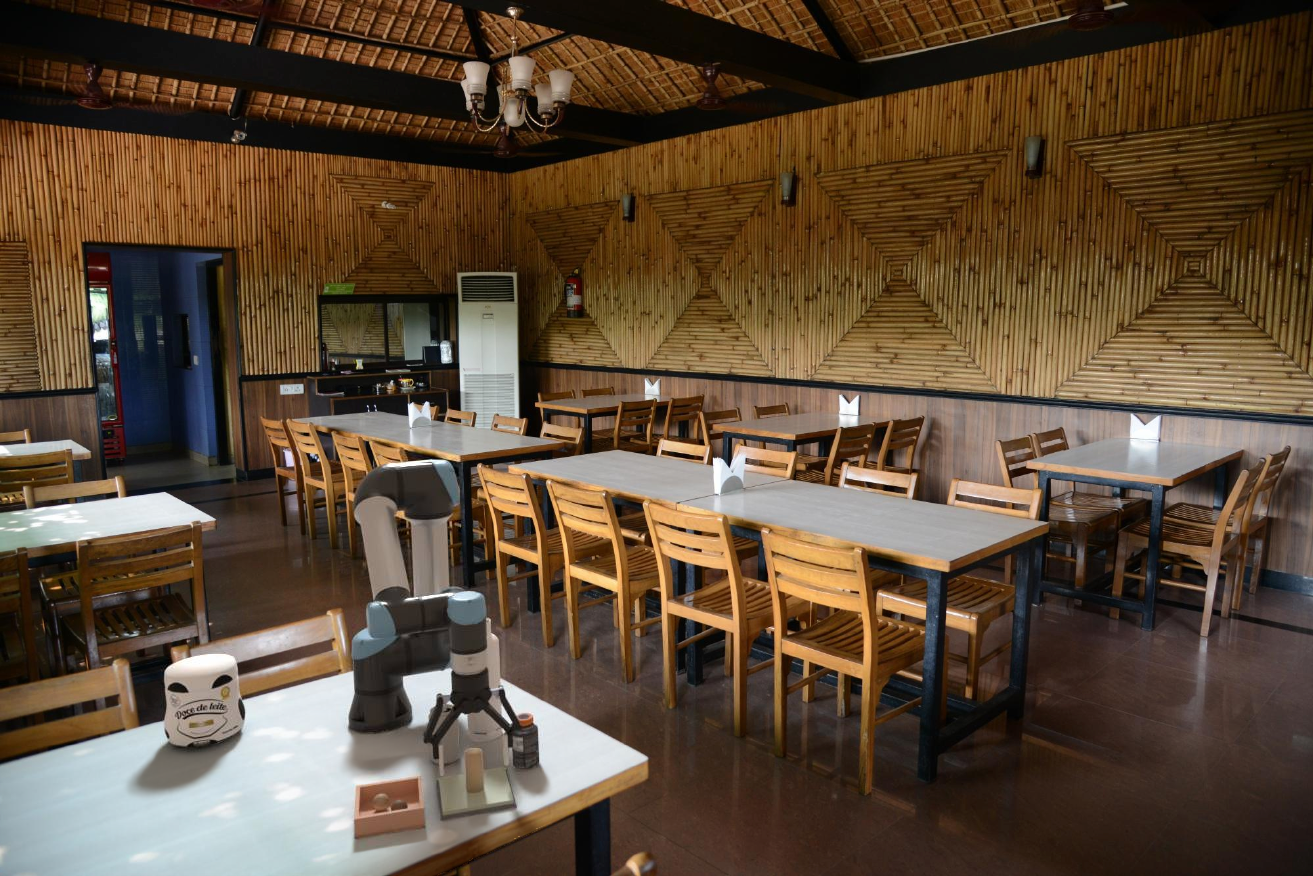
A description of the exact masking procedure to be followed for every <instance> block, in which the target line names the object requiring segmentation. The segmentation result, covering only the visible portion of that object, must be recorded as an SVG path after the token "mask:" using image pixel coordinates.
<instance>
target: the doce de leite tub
mask: <svg viewBox="0 0 1313 876" xmlns="http://www.w3.org/2000/svg"><path fill="white" fill-rule="evenodd" d="M163 676H164V678H163V683H164V687H165V688H164V692H165V701H166V711H165V715H164V720H163V726H164V727H163V729H164V734H165V737H166V739H167V740H168V742H169V743H170V744H171V745H173V746H175V747H178V748H185V749H196V748H197V749H198V748H204V747H208V746H209V747H210V746H214V745H216V744H219V743H222V742H224V741H227V740H229V739H231V738H232V737H235V735H237V734H238V733H239V732H240V731H241V730H242V729H243V727H244V724H245V721H246V720H245V719H246V708H245V704H244V701H243V698H242V695H241V693H240V684H239V683H240V682H239V670H238V663H237V661H236V659H235V656H233V655H230V654H226V653H225V654H224V653H209V654H206V653H205V654H202V655H195V656H191V657H188V658H184V659H181V660H178V661H175V662H174V663H172V664H170V665H168V667H166V669H165V670H164V675H163Z"/></svg>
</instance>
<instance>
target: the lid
mask: <svg viewBox="0 0 1313 876" xmlns="http://www.w3.org/2000/svg"><path fill="white" fill-rule="evenodd" d="M483 759H484V758H483V750H482V749H481V748H478V747H473V748H472V747H471V748H468V749H467V750H465V751H464V765H465V766H464V767H465V769H464V771H465V773H459V774H454V775H449V776H448V775H447V776H440V777H438V780H439V787H440V795H441V804H442V812H443V816H444V815H449V814H455V813H461V812H467V811H473V810H479V809H484V808H490V807H496V806H502V805H508V804H514V800H513V796H512V793H511V789H510V785H509V781H508V778H507V774H506V770H505V769H506V767H504V766H503V767H498V768H497V767H496V768H491V769H486V770H484V760H483Z"/></svg>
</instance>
